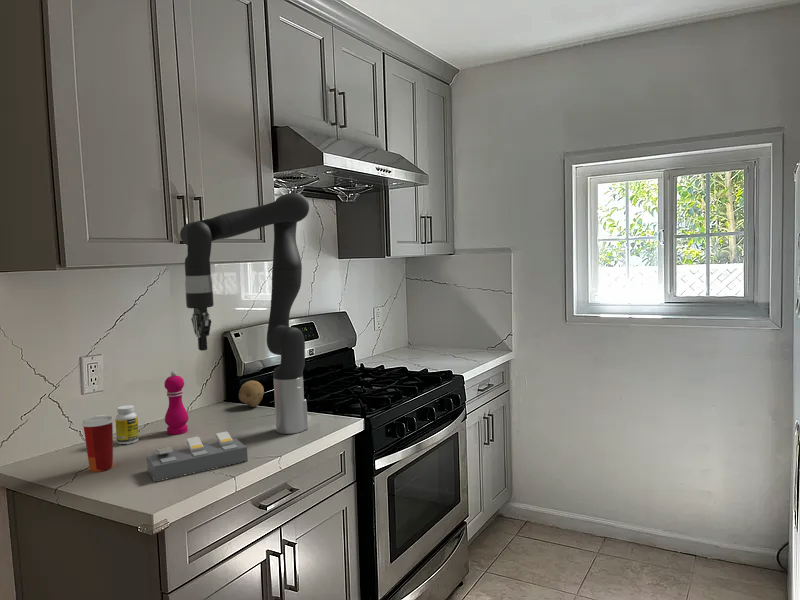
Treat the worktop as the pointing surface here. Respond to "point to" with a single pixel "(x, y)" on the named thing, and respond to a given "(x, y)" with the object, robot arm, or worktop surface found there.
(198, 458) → the rocker switch box
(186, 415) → the pepper mill
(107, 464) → the paper cup
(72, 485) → the worktop surface
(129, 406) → the pill bottle
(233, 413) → the worktop surface
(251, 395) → the brown potato
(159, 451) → the rocker
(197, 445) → the rocker middle
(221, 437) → the rocker
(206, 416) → the worktop surface
